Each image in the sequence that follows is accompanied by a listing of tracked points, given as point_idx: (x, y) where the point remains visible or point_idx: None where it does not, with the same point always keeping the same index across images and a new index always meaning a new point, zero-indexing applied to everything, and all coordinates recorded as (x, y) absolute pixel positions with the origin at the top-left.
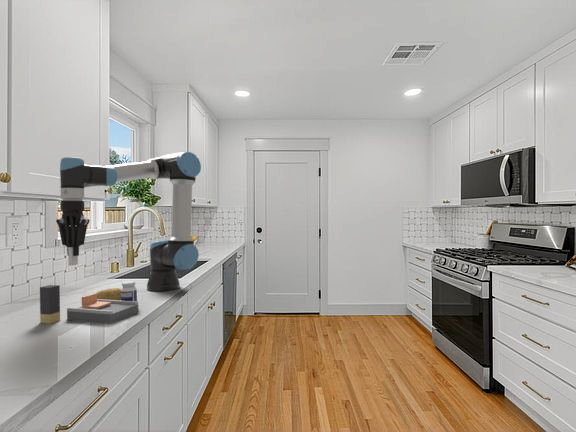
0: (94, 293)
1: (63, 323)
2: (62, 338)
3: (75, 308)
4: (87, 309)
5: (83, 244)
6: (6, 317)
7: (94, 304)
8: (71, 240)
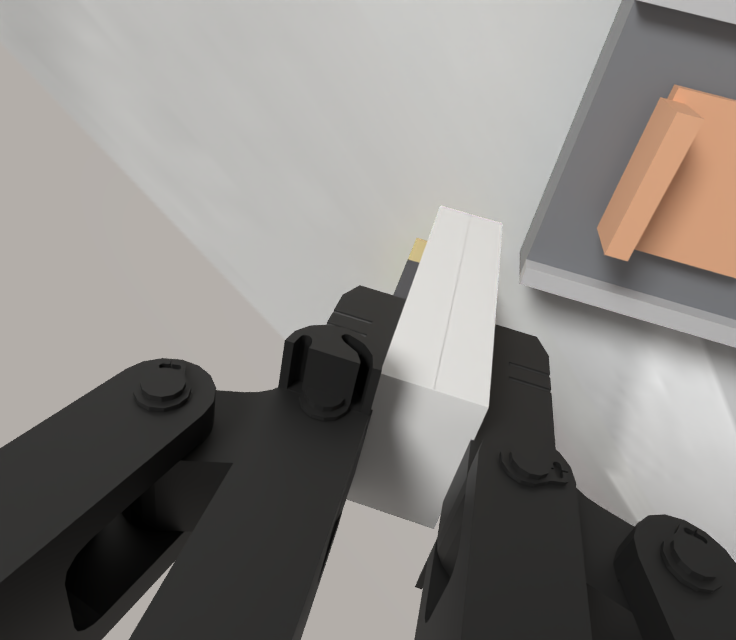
0: (677, 117)
1: (535, 314)
2: (641, 501)
3: (583, 295)
4: (683, 329)
5: (716, 546)
6: (144, 182)
7: (693, 203)
8: (312, 597)
